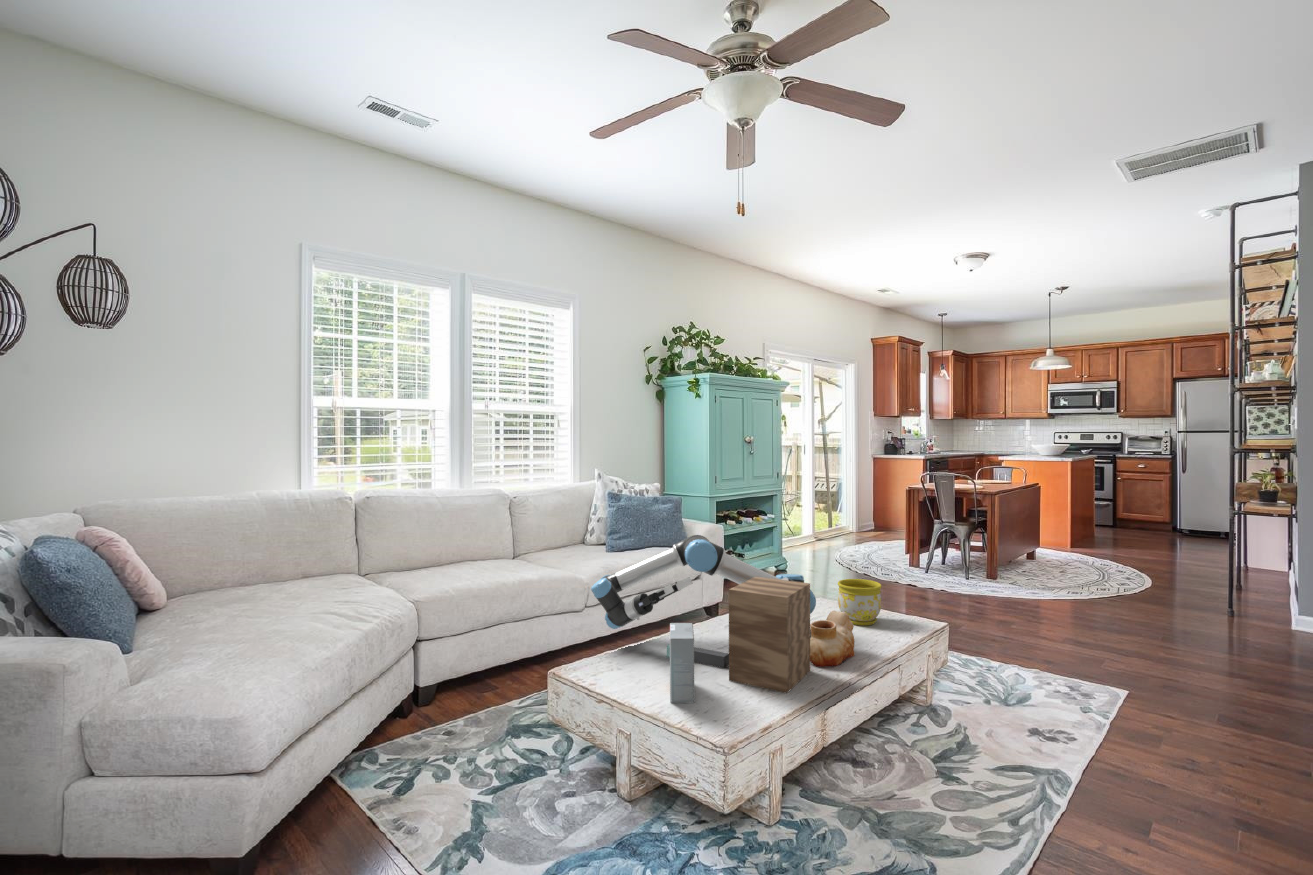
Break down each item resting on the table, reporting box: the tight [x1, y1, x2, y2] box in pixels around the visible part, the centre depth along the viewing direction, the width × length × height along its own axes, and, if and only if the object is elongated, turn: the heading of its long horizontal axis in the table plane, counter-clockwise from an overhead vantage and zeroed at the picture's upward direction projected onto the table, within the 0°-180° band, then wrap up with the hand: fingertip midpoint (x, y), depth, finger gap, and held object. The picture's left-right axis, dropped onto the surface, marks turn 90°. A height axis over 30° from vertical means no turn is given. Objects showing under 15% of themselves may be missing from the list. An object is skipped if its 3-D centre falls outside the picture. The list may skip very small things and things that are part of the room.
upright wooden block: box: [728, 577, 811, 694], centre depth 218 cm, size 22×20×30 cm
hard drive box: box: [669, 622, 695, 704], centre depth 204 cm, size 16×8×20 cm, turn 178°
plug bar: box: [666, 643, 729, 669], centre depth 233 cm, size 23×4×4 cm, turn 59°
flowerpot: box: [837, 578, 882, 627], centre depth 279 cm, size 18×18×16 cm
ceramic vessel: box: [810, 610, 855, 668], centre depth 236 cm, size 14×26×15 cm, turn 142°
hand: (681, 583), depth 236 cm, fingers open, 13 cm apart
